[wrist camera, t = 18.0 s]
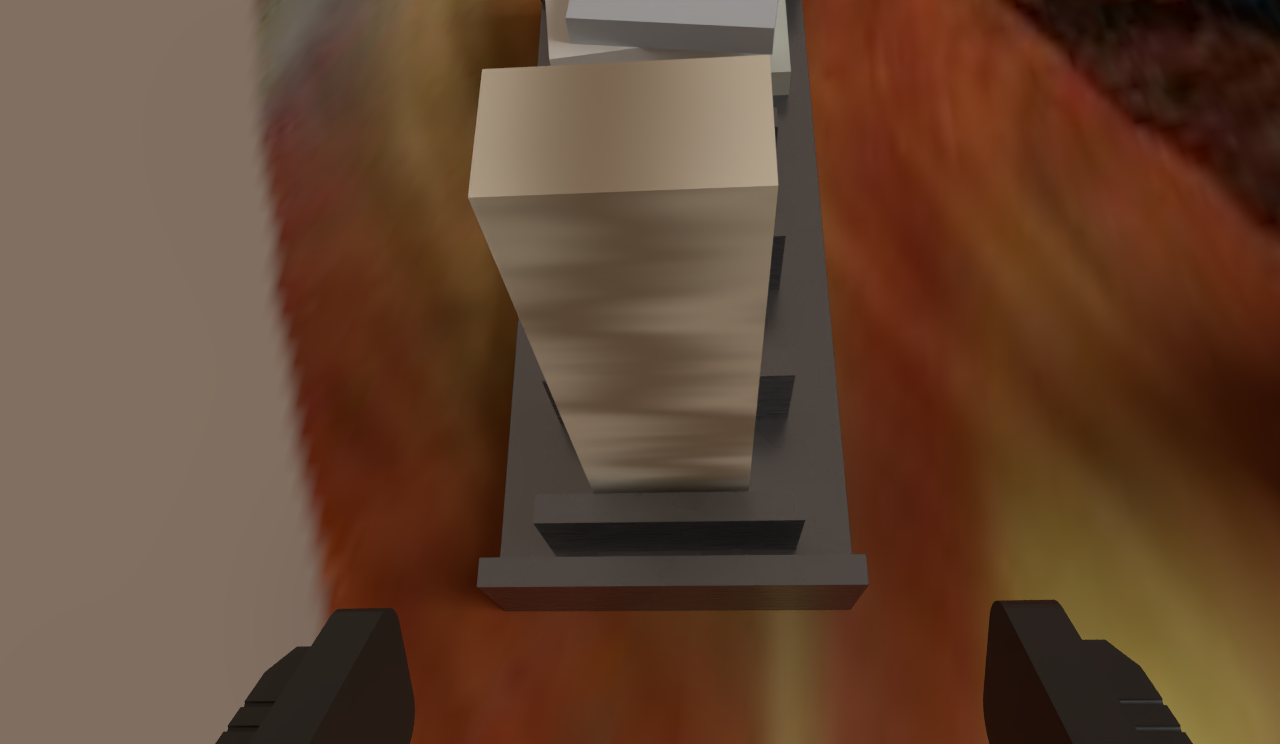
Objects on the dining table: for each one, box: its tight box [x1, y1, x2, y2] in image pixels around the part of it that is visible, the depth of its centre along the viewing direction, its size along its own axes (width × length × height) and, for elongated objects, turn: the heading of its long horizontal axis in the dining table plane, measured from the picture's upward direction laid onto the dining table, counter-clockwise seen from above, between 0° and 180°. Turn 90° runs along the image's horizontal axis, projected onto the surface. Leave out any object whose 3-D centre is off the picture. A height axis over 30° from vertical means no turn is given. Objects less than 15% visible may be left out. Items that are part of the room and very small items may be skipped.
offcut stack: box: [545, 0, 791, 96], centre depth 42 cm, size 11×7×4 cm, turn 90°
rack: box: [477, 0, 869, 611], centre depth 38 cm, size 13×31×6 cm, turn 0°
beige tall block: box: [468, 55, 778, 494], centre depth 26 cm, size 6×3×20 cm, turn 90°
